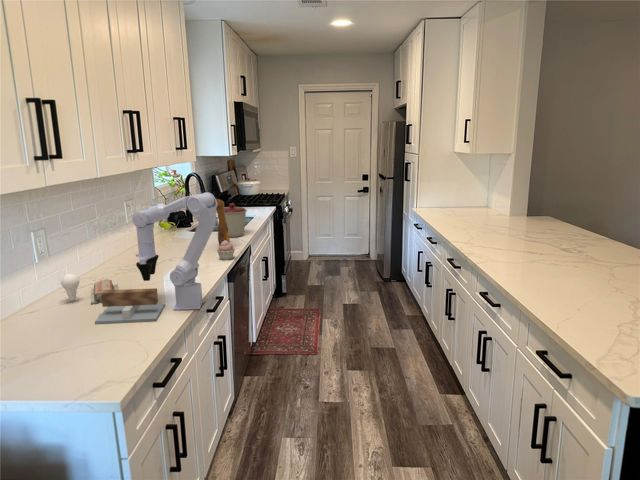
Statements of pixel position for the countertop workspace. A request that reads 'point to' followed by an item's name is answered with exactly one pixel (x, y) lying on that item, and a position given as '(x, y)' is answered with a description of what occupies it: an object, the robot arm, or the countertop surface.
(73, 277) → the lightbulb
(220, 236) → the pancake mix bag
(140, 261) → the robot arm
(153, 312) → the ridge board
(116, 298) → the walnut batten
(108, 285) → the packaged product
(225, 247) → the cupcake
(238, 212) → the canister
